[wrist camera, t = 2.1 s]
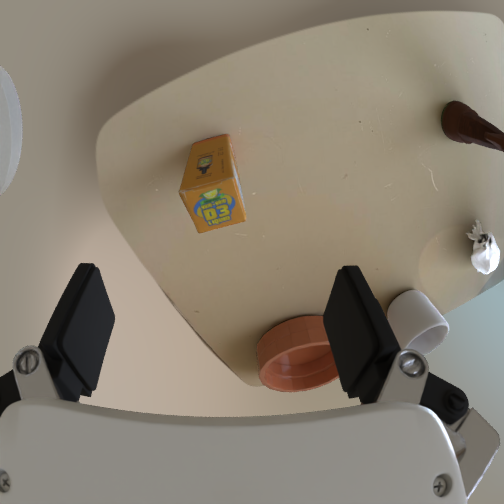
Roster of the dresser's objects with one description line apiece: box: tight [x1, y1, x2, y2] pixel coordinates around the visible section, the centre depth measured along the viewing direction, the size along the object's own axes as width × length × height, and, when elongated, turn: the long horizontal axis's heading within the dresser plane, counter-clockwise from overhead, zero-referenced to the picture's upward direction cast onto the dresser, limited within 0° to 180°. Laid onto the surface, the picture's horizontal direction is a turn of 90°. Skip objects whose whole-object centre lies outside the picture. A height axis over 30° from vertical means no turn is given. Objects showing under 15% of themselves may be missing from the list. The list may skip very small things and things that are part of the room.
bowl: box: [256, 316, 339, 392], centre depth 39 cm, size 13×13×5 cm
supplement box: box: [179, 134, 246, 233], centre depth 20 cm, size 3×3×10 cm
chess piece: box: [441, 101, 504, 152], centre depth 19 cm, size 5×5×10 cm
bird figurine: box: [466, 220, 500, 274], centre depth 31 cm, size 5×7×10 cm
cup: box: [387, 290, 449, 356], centre depth 36 cm, size 11×8×8 cm
